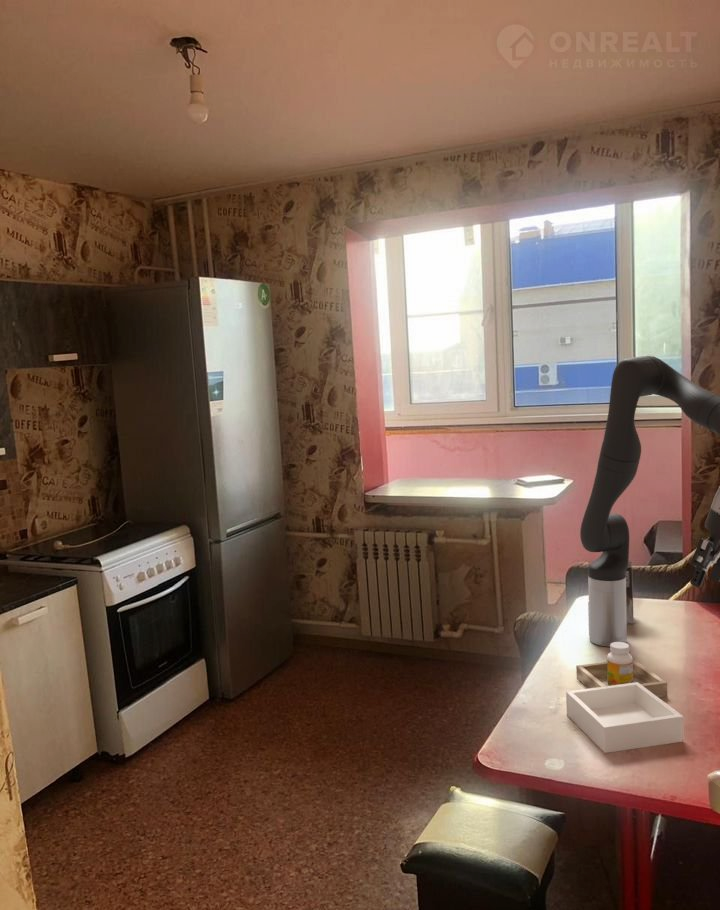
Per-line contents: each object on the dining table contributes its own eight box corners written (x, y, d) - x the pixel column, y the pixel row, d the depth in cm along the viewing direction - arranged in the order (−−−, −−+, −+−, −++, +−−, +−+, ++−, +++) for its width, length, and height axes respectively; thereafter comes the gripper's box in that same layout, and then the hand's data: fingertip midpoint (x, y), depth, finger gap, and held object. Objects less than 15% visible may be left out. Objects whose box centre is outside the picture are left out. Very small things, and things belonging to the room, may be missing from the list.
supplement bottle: (603, 683, 166) (602, 641, 165) (626, 680, 167) (625, 639, 166) (613, 693, 161) (613, 650, 160) (637, 691, 161) (636, 648, 160)
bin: (566, 714, 152) (566, 691, 152) (637, 704, 155) (637, 682, 154) (604, 752, 137) (604, 727, 136) (683, 741, 139) (683, 716, 139)
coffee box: (633, 616, 208) (632, 561, 206) (633, 624, 202) (633, 567, 200) (599, 614, 211) (598, 560, 209) (598, 622, 205) (597, 565, 203)
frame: (576, 678, 170) (576, 665, 169) (632, 670, 172) (632, 658, 171) (606, 704, 156) (606, 690, 155) (667, 696, 158) (667, 682, 158)
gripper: (728, 503, 157) (703, 571, 162) (697, 506, 148) (671, 578, 152) (763, 516, 152) (736, 587, 156) (733, 521, 143) (706, 595, 147)
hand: (704, 582), depth 154 cm, fingers open, 8 cm apart
